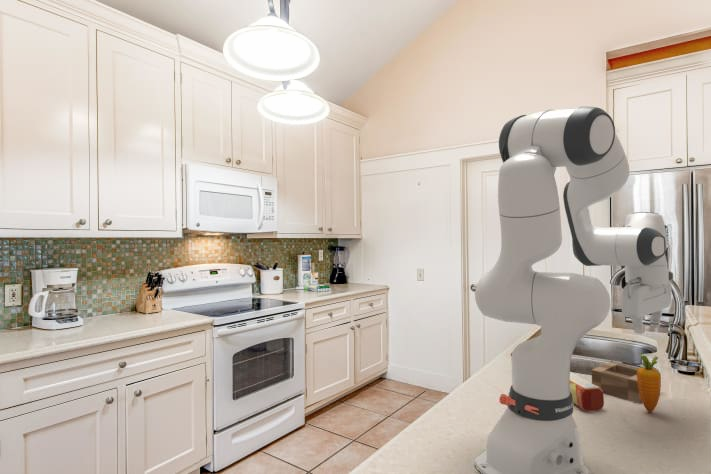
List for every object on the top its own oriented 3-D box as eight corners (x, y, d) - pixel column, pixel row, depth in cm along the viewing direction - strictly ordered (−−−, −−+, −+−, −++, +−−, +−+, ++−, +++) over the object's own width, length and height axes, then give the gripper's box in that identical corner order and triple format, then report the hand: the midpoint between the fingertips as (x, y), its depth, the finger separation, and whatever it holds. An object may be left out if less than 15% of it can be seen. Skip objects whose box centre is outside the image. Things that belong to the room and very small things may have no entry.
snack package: (540, 383, 125) (540, 361, 125) (561, 382, 126) (560, 360, 126) (581, 413, 104) (580, 387, 104) (606, 412, 104) (605, 386, 104)
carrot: (660, 411, 104) (659, 353, 104) (663, 418, 99) (661, 358, 99) (637, 407, 106) (635, 350, 106) (638, 414, 102) (636, 355, 102)
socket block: (638, 403, 108) (638, 381, 108) (592, 390, 118) (591, 369, 118) (656, 392, 115) (656, 371, 115) (611, 380, 125) (610, 361, 125)
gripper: (642, 281, 94) (644, 340, 94) (676, 272, 106) (677, 325, 106) (613, 279, 99) (615, 334, 100) (648, 271, 111) (649, 321, 111)
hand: (647, 329), depth 103 cm, fingers open, 8 cm apart
